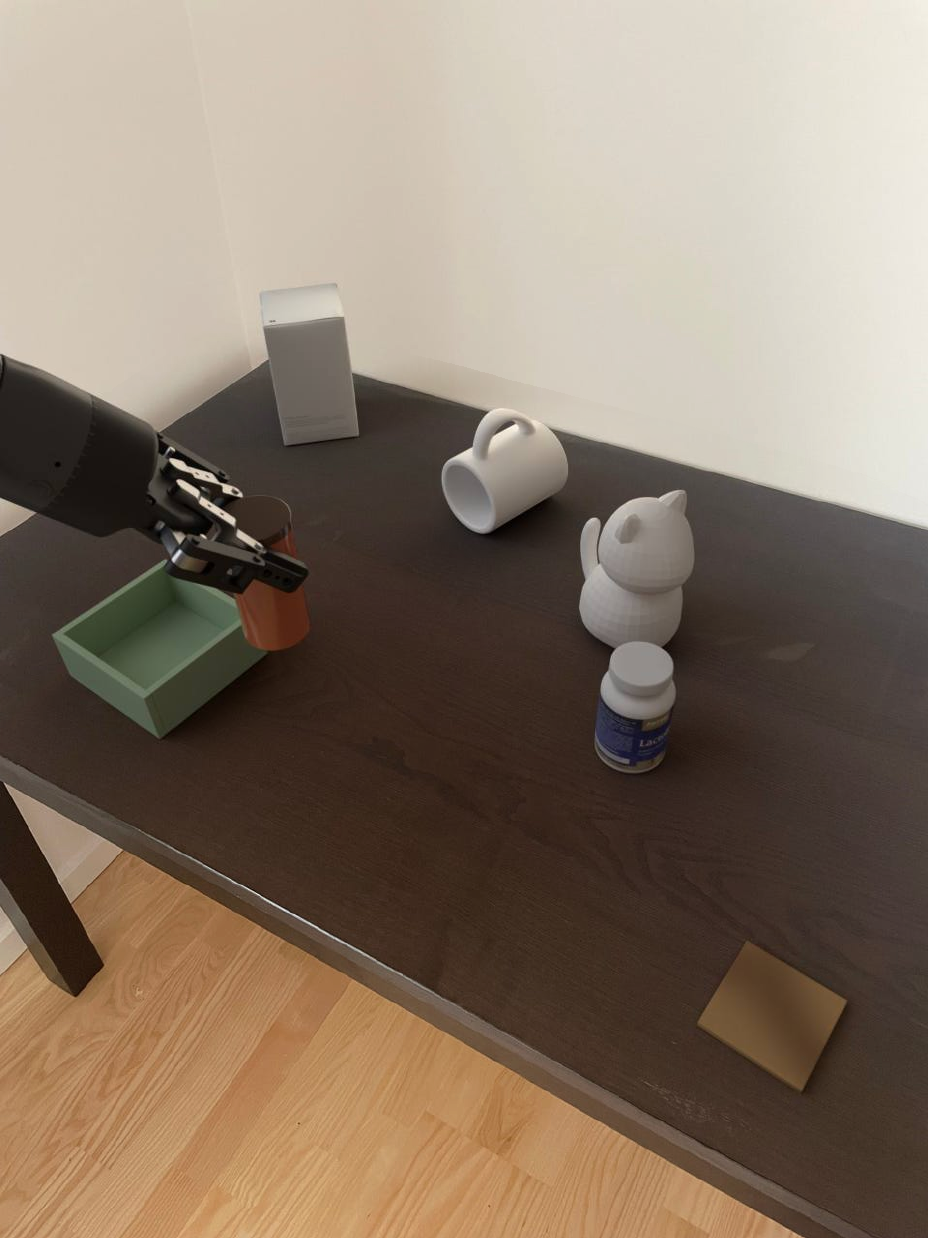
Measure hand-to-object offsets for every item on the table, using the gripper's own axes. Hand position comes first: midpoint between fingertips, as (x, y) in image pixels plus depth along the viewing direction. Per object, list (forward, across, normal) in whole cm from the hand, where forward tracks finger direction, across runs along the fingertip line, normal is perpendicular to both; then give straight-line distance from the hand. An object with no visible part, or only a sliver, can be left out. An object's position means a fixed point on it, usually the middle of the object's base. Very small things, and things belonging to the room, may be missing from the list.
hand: (288, 555), depth 67 cm
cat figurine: (+34, +2, -6) cm, 35 cm away
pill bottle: (+30, -11, -2) cm, 32 cm away
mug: (+32, +22, -5) cm, 40 cm away
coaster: (+28, -34, 0) cm, 44 cm away
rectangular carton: (+23, +47, +4) cm, 53 cm away
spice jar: (+3, 0, +6) cm, 6 cm away
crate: (+7, +14, +21) cm, 26 cm away
